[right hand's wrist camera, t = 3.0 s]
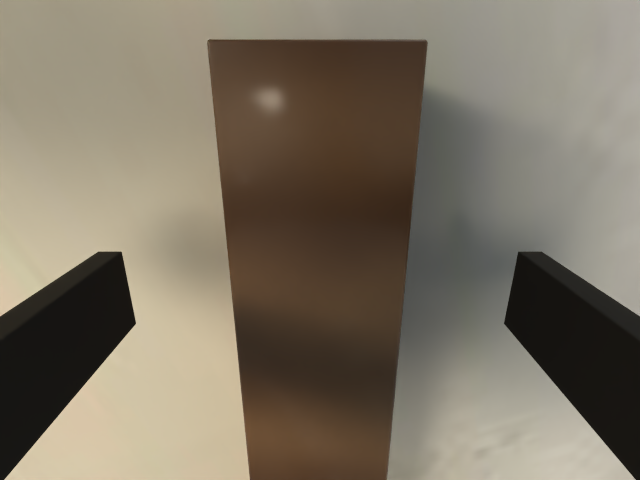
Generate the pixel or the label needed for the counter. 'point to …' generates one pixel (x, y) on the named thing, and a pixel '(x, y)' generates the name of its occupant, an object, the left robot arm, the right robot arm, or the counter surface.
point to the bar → (317, 242)
